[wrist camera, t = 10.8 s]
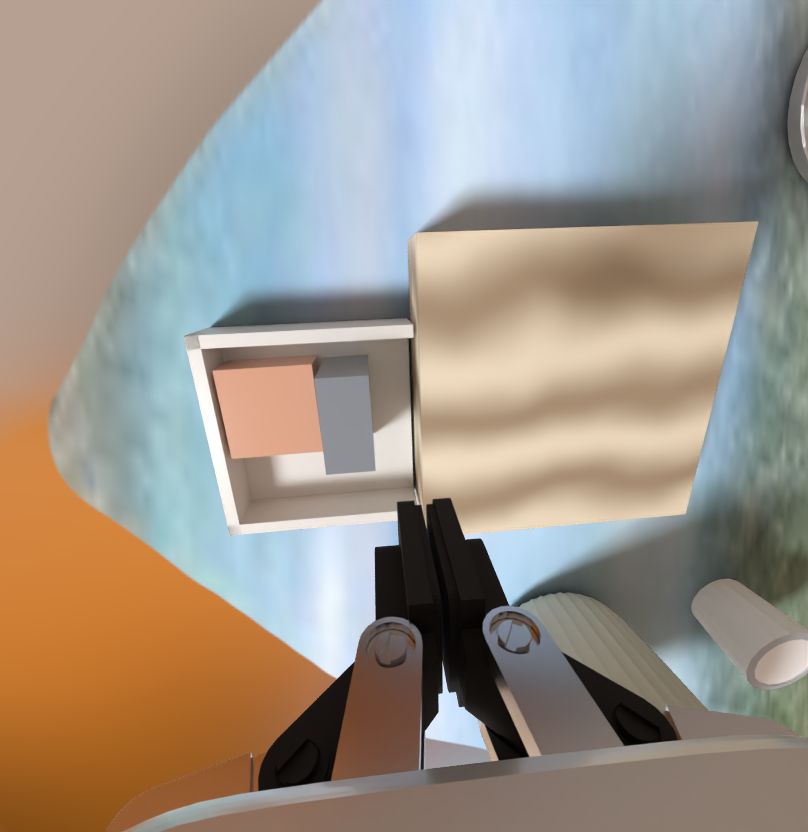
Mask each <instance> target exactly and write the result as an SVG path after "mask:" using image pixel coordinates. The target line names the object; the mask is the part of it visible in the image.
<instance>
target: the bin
mask: <svg viewBox="0 0 808 832" xmlns="http://www.w3.org/2000/svg"><path fill="white" fill-rule="evenodd" d="M408 338H413V324H412V323H411V322H410V321H409V320H408V319H407V318H391V319H371V320H351V321H330V322H310V323H290V324H270V325H249V326H229V327H209V328H206V329H203V330H200V331H197V332H194V333H191V334H189V335H186V336H184V340H185V344H186V348H187V352H188V357H189V361H190V365H191V370H192V374H193V378H194V383H195V387H196V391H197V396H198V400H199V404H200V408H201V413H202V417H203V421H204V426H205V430H206V434H207V439H208V443H209V447H210V452H211V456H212V460H213V464H214V469H215V473H216V477H217V482H218V486H219V490H220V495H221V499H222V503H223V508H224V512H225V516H226V520H227V525H228V529H229V533H230V535H239V534H250V533H261V532H273V531H284V530H295V529H307V528H318V527H329V526H341V525H352V524H363V523H375V522H386V521H397V520H398V517H397V502H400V501H413V500H414V502H415V505H417V501H416V496H415V492H414V487H413V460H412V431H411V401H410V372H409V343H408ZM309 355H317V357H318V365H319V368H320V366H321V364H322V362H323V360H324V358H325V357H338V356H354V355H368V364H369V377H370V391H371V404H372V418H373V431H374V449H375V468H376V471H369V472H357V473H344V474H332V475H326V470H325V462H324V454H323V452H312V453H300V454H287V455H275V456H263V457H250V458H238V459H232V457H231V453H230V448H229V444H228V439H227V435H226V430H225V426H224V421H223V417H222V412H221V408H220V403H219V399H218V394H217V390H216V385H215V381H214V376H213V372H212V371H213V370H214V369H216V368H217V367H219V366H221V365H222V364H224V363H225V362H227V361H230V360H246V359H261V358H277V357H293V356H309Z"/></svg>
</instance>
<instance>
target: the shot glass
mask: <svg viewBox="0 0 808 832" xmlns="http://www.w3.org/2000/svg"><path fill="white" fill-rule="evenodd" d="M691 610H692V614H693V615H694V616H695V617H696V619H697V620H698V621H699V622H700V624H701V625H702V626H703V627H704V628H705V630H706V631H707V632H708V633H709V635H710V636H711V637H712V638H713V639H714V641H715V642H716V643H717V644H718V646H719V647H720V648H721V649H722V650H723V652H724V653H725V654H726V655H727V657H728V658H729V659H730V660H731V661H732V663H733V664H734V665H735V666H736V667H737V669H738V670H739V671H740V672H741V674H742V675H743V676H744V677H745V678H746V680H747V681H748V682H749V683H750V684H751V685H752V686H753V687H755V688H759V689H764V690H768V689H777V688H781V687H784V686H786V685H789V684H792V683H794V682H795V681H797V680H798V679H800V678H802V677H803V676H805V675H806V674H807V673H808V630H807V629H805V628H804V627H803V626H801V625H800V624H798V623H797V622H795V621H794V620H793V619H791V618H790V617H788V616H787V615H785V614H784V613H783V612H781V611H780V610H778V609H777V608H775V607H774V606H773V605H771V604H770V603H768V602H767V601H765V600H764V599H763V598H761V597H760V596H758V595H757V594H755V593H754V592H753V591H751V590H750V589H748V588H747V587H745V586H744V585H743V584H741V583H740V582H738V581H736V580H733V579H730V578H729V579H719V580H716V581H714V582H711V583H709V584H707V585H706V586H705V587H703V588H702V589H700V590H699V592H698V593H697V594H696V595H695V597H694V598H693V601H692V604H691Z"/></svg>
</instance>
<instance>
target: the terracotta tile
mask: <svg viewBox="0 0 808 832" xmlns="http://www.w3.org/2000/svg"><path fill="white" fill-rule="evenodd" d="M318 370H319V365H318V357H317V355H309V356H293V357H277V358H261V359H246V360H230V361H227V362H225V363H224V364H222V365H221V366H219V367H217V368H216V369H214V370H213V371H212V372H213V376H214V381H215V385H216V390H217V394H218V399H219V403H220V408H221V412H222V417H223V421H224V426H225V430H226V435H227V439H228V444H229V448H230V453H231V457H232V459H238V458H250V457H263V456H275V455H287V454H300V453H312V452H323V446H322V438H321V430H320V422H319V414H318V406H317V398H316V390H315V382H314V378H315V376H316V374H317V372H318Z"/></svg>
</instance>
